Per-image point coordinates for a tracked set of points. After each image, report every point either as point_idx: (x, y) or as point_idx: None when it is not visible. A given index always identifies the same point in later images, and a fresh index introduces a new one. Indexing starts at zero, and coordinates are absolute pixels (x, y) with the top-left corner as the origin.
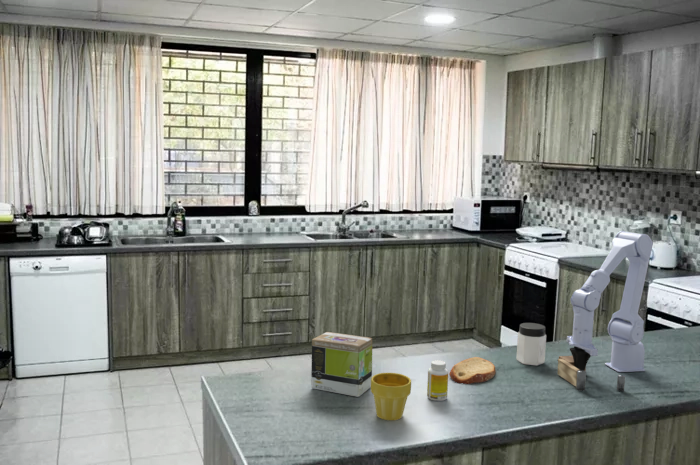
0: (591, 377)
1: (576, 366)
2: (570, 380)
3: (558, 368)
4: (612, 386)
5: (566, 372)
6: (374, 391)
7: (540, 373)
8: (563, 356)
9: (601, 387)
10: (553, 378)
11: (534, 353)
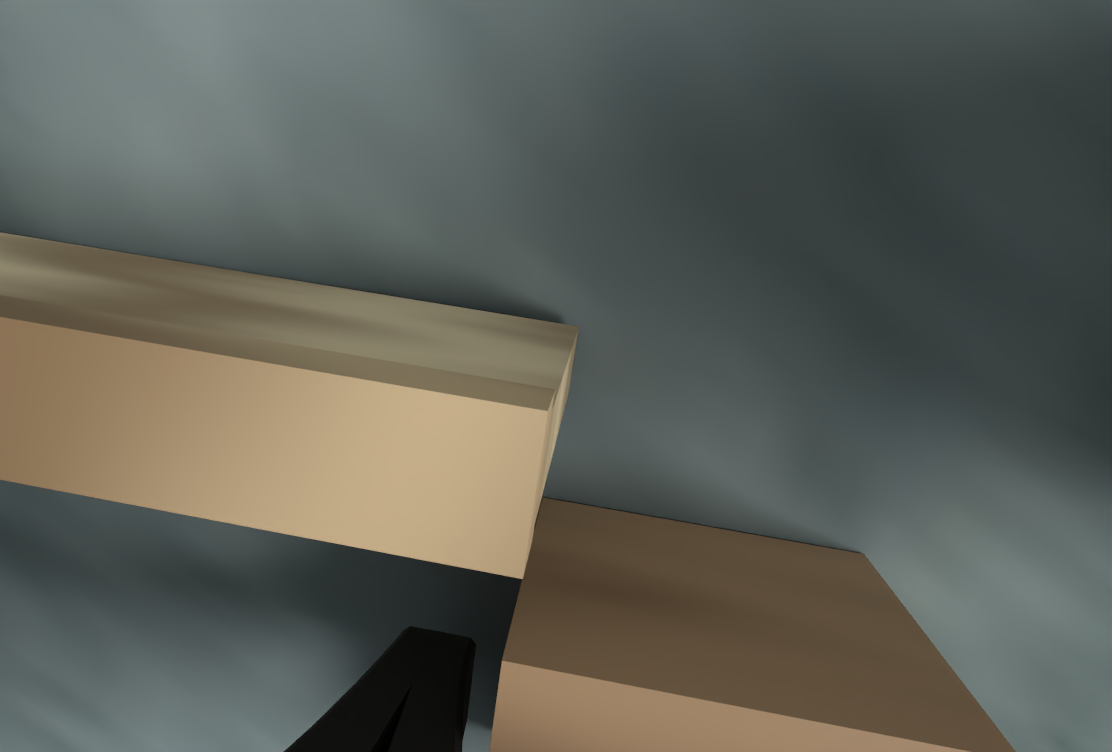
0: None
1: (387, 690)
2: (100, 258)
3: (538, 347)
4: (52, 714)
5: (175, 296)
6: None
7: (768, 40)
8: None
9: (18, 581)
10: (443, 133)
11: None
